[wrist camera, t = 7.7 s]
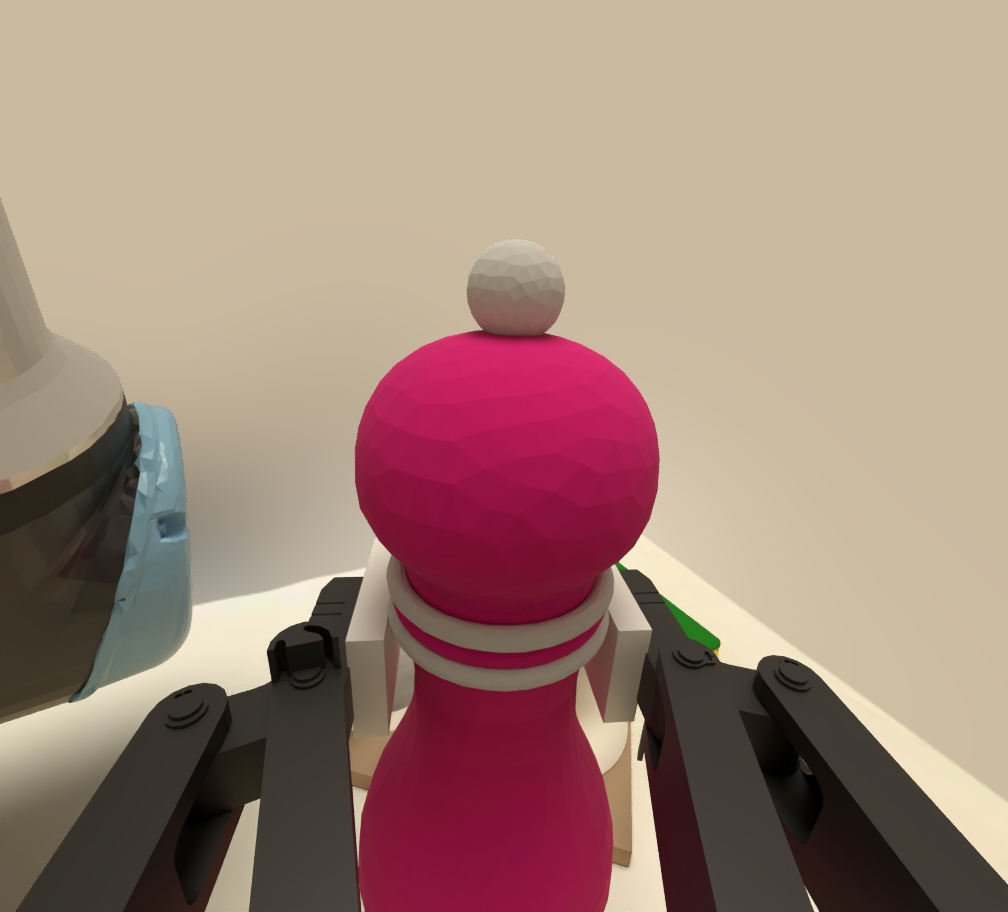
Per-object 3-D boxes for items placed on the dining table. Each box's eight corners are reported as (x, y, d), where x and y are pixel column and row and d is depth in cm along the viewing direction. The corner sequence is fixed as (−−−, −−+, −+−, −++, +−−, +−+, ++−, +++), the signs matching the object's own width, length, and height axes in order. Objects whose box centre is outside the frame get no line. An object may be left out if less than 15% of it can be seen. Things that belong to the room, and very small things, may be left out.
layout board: (259, 757, 29) (241, 665, 26) (372, 613, 41) (368, 541, 39) (628, 866, 24) (649, 767, 22) (627, 666, 37) (640, 589, 34)
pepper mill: (384, 804, 18) (349, 241, 11) (566, 792, 19) (641, 258, 12) (343, 1111, 12) (189, 188, 4) (627, 1074, 12) (880, 234, 5)
